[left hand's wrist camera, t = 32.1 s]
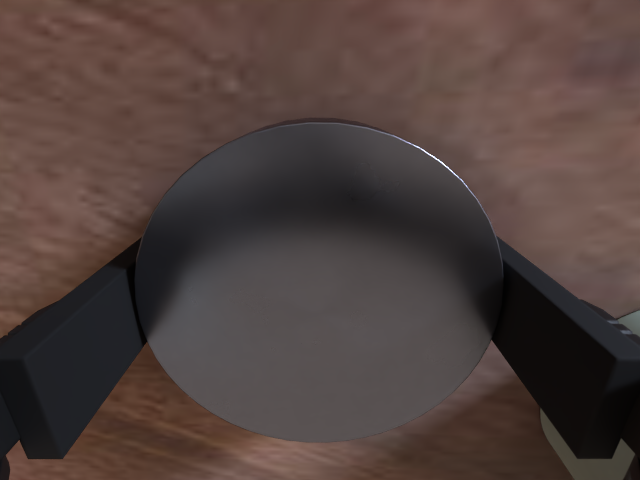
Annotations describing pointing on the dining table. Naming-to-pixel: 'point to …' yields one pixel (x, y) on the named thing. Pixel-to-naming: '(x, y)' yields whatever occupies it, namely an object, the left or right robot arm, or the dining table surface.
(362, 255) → the lid
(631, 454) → the jar
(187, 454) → the dining table surface
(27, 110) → the dining table surface
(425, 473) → the dining table surface
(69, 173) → the dining table surface
